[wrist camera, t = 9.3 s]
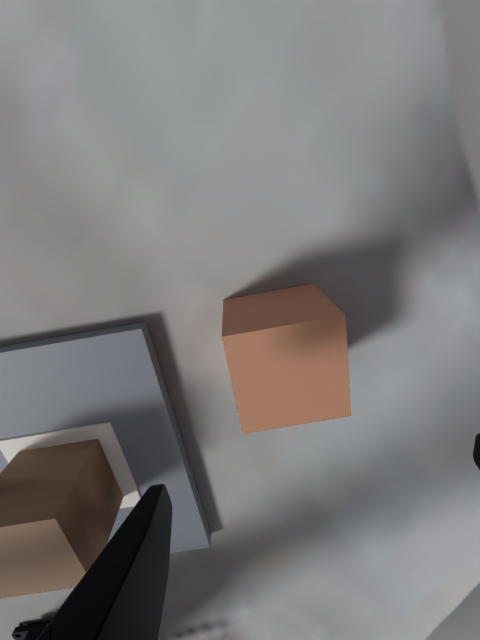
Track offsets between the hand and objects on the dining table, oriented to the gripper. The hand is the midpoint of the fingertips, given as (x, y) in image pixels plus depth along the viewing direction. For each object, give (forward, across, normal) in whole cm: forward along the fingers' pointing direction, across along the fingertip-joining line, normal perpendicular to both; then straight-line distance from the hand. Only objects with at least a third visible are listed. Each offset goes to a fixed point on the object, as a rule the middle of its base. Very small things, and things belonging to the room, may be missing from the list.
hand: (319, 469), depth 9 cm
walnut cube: (+8, +14, +7) cm, 18 cm away
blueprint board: (+10, +14, +7) cm, 18 cm away
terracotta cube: (+10, 0, 0) cm, 10 cm away
